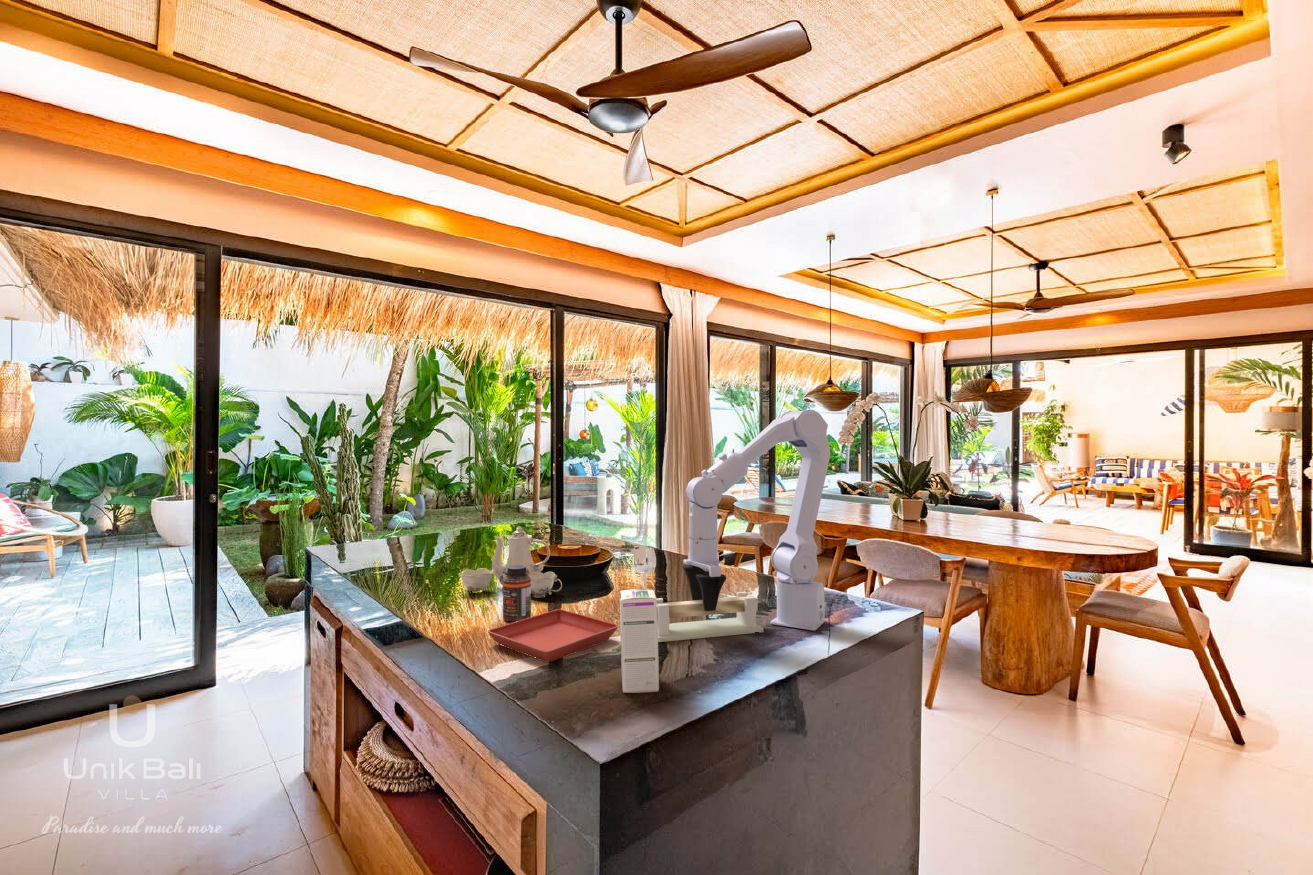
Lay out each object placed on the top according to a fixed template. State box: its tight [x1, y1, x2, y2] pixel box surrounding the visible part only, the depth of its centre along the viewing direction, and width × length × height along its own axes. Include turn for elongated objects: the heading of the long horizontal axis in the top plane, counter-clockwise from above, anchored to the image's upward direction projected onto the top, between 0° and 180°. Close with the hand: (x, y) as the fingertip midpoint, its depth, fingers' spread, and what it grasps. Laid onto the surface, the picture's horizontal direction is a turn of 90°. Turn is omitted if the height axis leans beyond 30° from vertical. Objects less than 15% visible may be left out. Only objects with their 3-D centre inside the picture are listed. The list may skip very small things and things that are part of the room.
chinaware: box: [457, 525, 563, 599], centre depth 156 cm, size 28×17×17 cm, turn 80°
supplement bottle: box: [502, 565, 532, 622], centre depth 132 cm, size 6×6×11 cm
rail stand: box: [656, 591, 764, 643], centre depth 123 cm, size 22×8×6 cm, turn 104°
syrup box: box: [619, 588, 660, 694], centre depth 96 cm, size 6×6×14 cm
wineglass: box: [631, 545, 657, 589], centre depth 149 cm, size 6×6×12 cm
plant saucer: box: [487, 608, 619, 663], centre depth 117 cm, size 18×18×3 cm
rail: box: [657, 595, 759, 619], centre depth 123 cm, size 22×2×2 cm, turn 104°
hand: (703, 605), depth 123 cm, fingers open, 7 cm apart
